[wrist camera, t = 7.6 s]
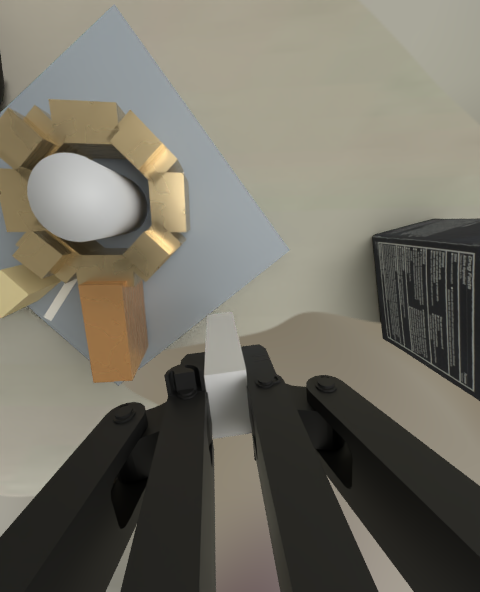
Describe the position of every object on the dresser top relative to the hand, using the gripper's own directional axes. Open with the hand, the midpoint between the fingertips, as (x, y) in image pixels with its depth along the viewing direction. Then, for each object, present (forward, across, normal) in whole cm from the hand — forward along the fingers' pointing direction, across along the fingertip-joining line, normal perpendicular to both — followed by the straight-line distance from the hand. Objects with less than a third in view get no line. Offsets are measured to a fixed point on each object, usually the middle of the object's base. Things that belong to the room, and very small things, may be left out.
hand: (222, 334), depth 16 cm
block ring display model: (+8, -7, +7) cm, 12 cm away
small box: (+9, +18, -1) cm, 20 cm away
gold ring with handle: (+6, -7, +5) cm, 10 cm away
